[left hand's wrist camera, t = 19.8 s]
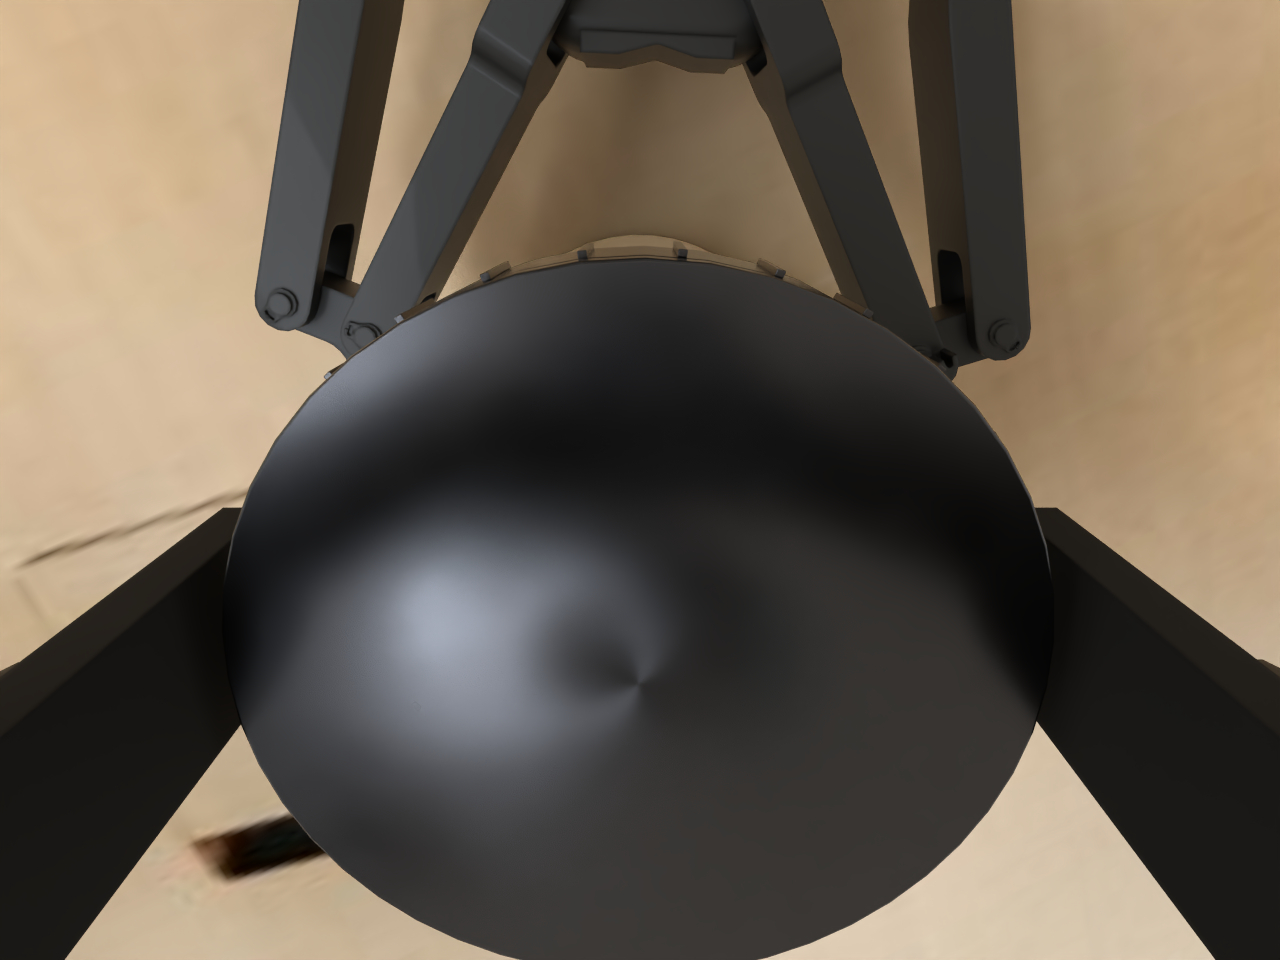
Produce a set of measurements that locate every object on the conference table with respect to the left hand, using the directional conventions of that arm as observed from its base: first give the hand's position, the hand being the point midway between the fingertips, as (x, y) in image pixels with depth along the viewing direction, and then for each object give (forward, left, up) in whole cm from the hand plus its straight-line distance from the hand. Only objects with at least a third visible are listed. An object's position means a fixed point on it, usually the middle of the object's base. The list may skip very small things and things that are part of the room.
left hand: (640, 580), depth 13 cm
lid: (0, 0, +3) cm, 3 cm away
